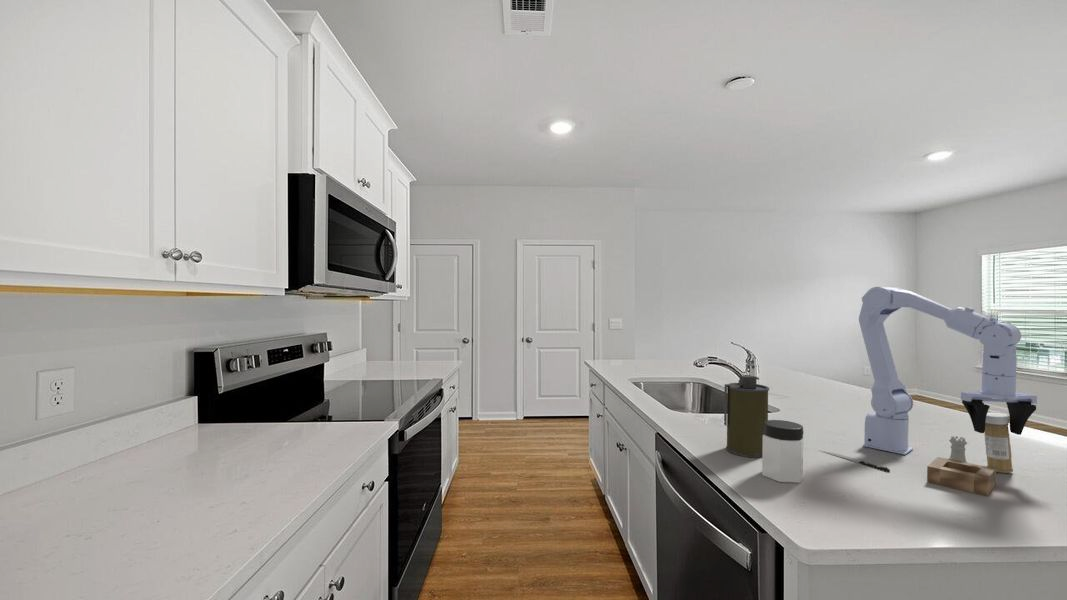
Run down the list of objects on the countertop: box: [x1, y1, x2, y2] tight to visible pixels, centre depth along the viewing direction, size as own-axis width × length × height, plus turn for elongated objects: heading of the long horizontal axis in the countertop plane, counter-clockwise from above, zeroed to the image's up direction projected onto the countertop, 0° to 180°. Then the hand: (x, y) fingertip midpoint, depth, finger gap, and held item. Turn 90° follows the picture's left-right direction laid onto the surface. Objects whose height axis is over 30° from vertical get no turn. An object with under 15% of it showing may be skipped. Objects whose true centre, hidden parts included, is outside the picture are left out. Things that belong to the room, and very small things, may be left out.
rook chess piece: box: [948, 435, 968, 463], centre depth 115 cm, size 4×4×8 cm
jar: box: [761, 419, 804, 484], centre depth 111 cm, size 9×8×12 cm
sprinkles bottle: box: [984, 411, 1014, 474], centre depth 115 cm, size 5×5×14 cm
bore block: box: [926, 456, 997, 497], centre depth 108 cm, size 10×10×4 cm
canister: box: [723, 375, 770, 459], centre depth 129 cm, size 11×10×20 cm
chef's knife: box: [818, 449, 891, 473], centre depth 123 cm, size 19×1×3 cm
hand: (997, 432), depth 113 cm, fingers open, 7 cm apart
